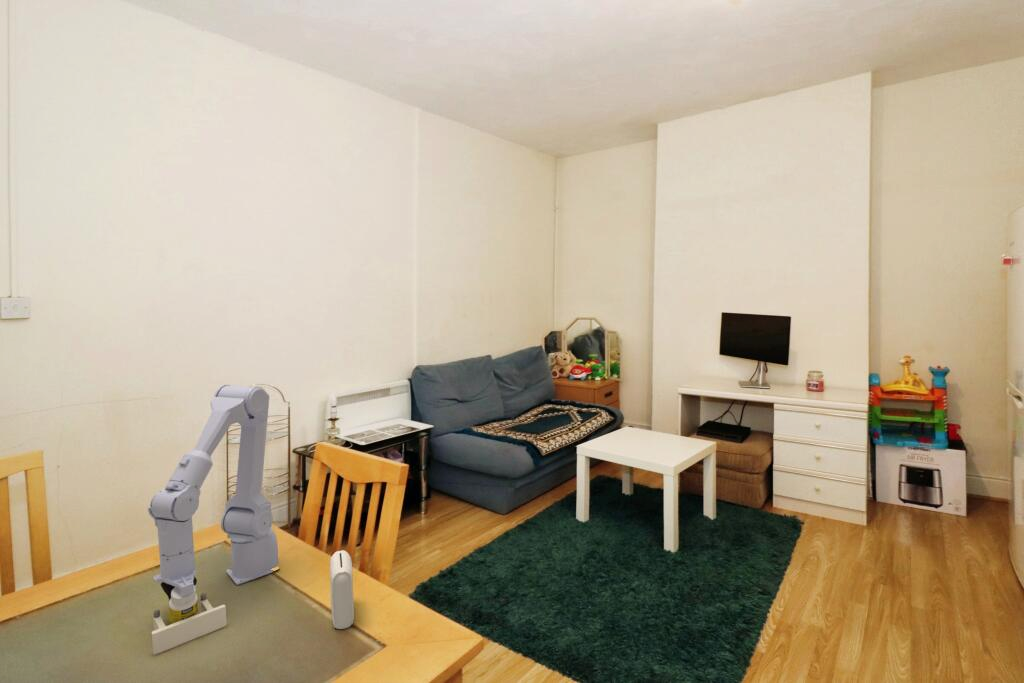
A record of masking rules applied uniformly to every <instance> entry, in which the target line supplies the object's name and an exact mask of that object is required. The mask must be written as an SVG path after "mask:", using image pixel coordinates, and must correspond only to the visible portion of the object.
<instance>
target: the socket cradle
mask: <svg viewBox="0 0 1024 683" xmlns="http://www.w3.org/2000/svg"><path fill="white" fill-rule="evenodd" d="M199 603H200V604H199V606H200V613H198V614H197V615H194V616H192V617H189V618H187V619H184V620H181V621H179V622H176V623H173V624H171V625H169V624H168V625H166V624H165V622H164V620H163V618H162V617H161V610H160V609H156V610H154V611H153V618H152V619H153V631H151V641H152V642H151V643H152V644H151V645H152V653H153V655H154V656H156V655H159V654H161V653H162V652H166V651H169V650H170V649H173V648H176V647H178V646H180V645H183V644H185V643H188V642H190V641H193V640H195V639H198V638H200V637H202V636H205V635H208V634H210V633H212V632H215V631H217V630H221V629H222V628H224V627H226V626H227V609H226V605H225V604H222V605H218V606H215V607H213V606H212V605H211V603H210V601H209V600H208V599H207V593H201V594H200V599H199Z"/></svg>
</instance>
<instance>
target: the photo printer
mask: <svg viewBox="0 0 1024 683" xmlns="http://www.w3.org/2000/svg"><path fill="white" fill-rule="evenodd" d="M329 579H330V582H329V586H330V605H331V618H332V624H333V628H336V629H337V630H343V629H344V630H345V629H348V628H350V627H351V626H352V625H353V624H354V619H355V608H354V607H355V606H354V603H355V602H354V574H353V560H352V558H351V556H350V554H349V553H348V552H347V551H346V550H343V549H342V550H337V551H335V552H334V553H333V554H332V556H331V558H330V562H329Z"/></svg>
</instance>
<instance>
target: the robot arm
mask: <svg viewBox="0 0 1024 683" xmlns="http://www.w3.org/2000/svg"><path fill="white" fill-rule="evenodd" d="M213 396H214V397H212V398H211V400H210V407H211V413H210V415H209V417H208V418H207V421H206V423H205V425H204V427H203V430H202V432H201V433H200V436H199V438H198V441H197V443H196V445H195V446H194V449H193V450H192V451H189V452H187V453H185V454H184V455H183V456H182V458H180V459H179V462H178V464H177V466H176V468H175V470H174V471H173V473H172V475H171V477H170V478H169V480H168V482H167V484H166V485H165V487H164V488H163V489H161V490H160V491H158V492H156V493H155V494H154V496H153V497H152V498H151V499H150V500H151V501H150V504H149V507H148V508H147V512H148V514H149V516H150V517H151V518H152V519H153V520H154V526H155V527H156V528H157V541H158V552H159V553H158V554H159V568H160V569H159V570H160V571H159V572H160V573H158V574H156V575H153V581H154V583H156V584H157V583H160V586H161V588H162V590H163V592H164V594H166V596H167V598H168V601H170V599H171V592H172V590H173V589H174V588H175V587H177V588H179V589H180V590H181V596H182V597H183V596H186V595H189V594H192V593H194V586H195V587H196V585H197V583H198V579H197V578H196V573H197V565H196V563H195V562H196V561H195V544H194V530H193V528H194V527H193V516H194V515H195V514H196V511H198V509H199V505H200V496H201V495H202V494H201V492H202V491H201V488H202V486H203V484H204V482H205V480H206V478H207V477H208V475H209V473H210V471H211V469H212V467H213V466H214V465H213V464H214V463H213V460H212V455H213V454H214V452H215V450H216V448H217V447H218V446H219V444H220V443H221V441H222V439H223V438H224V437H225V435H226V433H227V432H228V430H229V429H230V427H231V426H232V425H233V424H237V423H238V424H239V426H240V436H239V437H240V438H239V448H238V460H237V461H238V462H237V471H236V472H237V473H236V483H235V484H236V485H235V495H233V496H232V497H231V498H229V499H228V500H227V501H226V502H225V506H224V507H225V509H224V511H223V514H222V516H221V520H220V528H221V530H222V532H223V533H225V534H226V535H227V536H226V537H227V539H229V540H230V555H231V556H230V557H231V568H228V569H226V571H225V572H226V574H227V575H228V576H229V577H230V578H231V580H232V581H233V582H234V583H235V584H236V586H237V585H242V584H244V583H247V582H250V581H252V580H256V579H258V578H261V577H264V576H266V575H269V574H273V573H274V572H273V570H271V569H272V568H275V567H277V566H279V567H280V565H279V564H280V563H279V548H278V538H277V534H276V533H275V531H274V529H272V526H273V522H274V519H273V517H274V516H273V512H272V502H271V501H270V500H269V499H268V498H267V497H266V496H265V495H264V494H263V493H262V491H263V490H262V489H263V477H264V464H265V453H266V452H265V451H266V444H267V443H266V442H267V440H266V439H267V430H268V429H267V428H268V418H269V406H270V395H269V393H268V392H267V391H266V390H265V389H264V388H263V387H262V386H258V385H256V386H246V385H244V386H242V385H230V384H223V385H221V386H219V387H218V388H217V389H216V390H215V392H214V395H213Z"/></svg>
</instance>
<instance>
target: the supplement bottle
mask: <svg viewBox="0 0 1024 683" xmlns="http://www.w3.org/2000/svg"><path fill="white" fill-rule="evenodd" d="M198 596H199V595H198V594H197V591H196V585H195V586H194V593H192V594H189V595H186V596H183V597H182V596H181V590H180V589H179V588H177V587H175V588H174V589H173V590H172V592H171V599H170V601H169V600H168V601H169V602H168V625H171V624H173V623H176V622H179V621H181V620H184V619H187V618H189V617H192V616H194V615H197V614H199V612H198V611H199V610H198V606H199V605H198V604H199V603H198V602H199V600H198Z"/></svg>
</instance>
